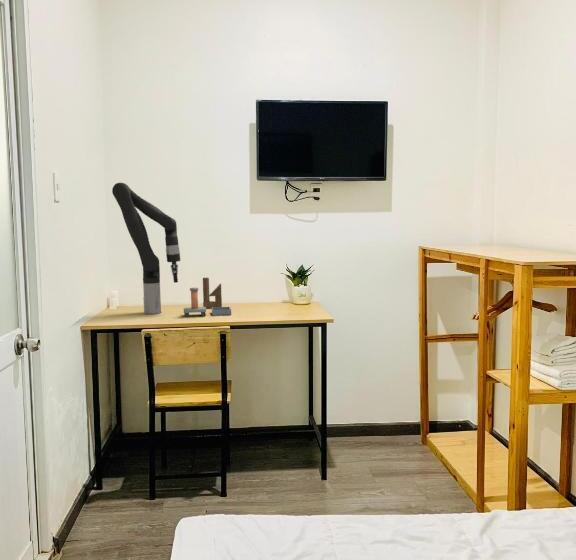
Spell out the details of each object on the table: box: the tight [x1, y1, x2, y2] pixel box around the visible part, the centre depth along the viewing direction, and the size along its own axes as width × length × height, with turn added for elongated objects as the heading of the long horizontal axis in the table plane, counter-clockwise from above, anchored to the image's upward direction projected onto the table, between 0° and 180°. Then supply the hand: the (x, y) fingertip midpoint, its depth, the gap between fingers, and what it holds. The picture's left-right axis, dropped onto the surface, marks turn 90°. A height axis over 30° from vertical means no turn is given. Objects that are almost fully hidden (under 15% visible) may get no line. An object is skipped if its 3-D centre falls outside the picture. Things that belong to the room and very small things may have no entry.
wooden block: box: [202, 277, 223, 309], centre depth 346 cm, size 4×11×18 cm, turn 101°
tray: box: [211, 306, 232, 316], centre depth 326 cm, size 10×10×3 cm
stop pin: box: [189, 287, 199, 309], centre depth 321 cm, size 5×5×11 cm
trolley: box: [183, 306, 207, 318], centre depth 322 cm, size 12×8×4 cm, turn 100°
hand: (175, 281), depth 333 cm, fingers open, 8 cm apart
